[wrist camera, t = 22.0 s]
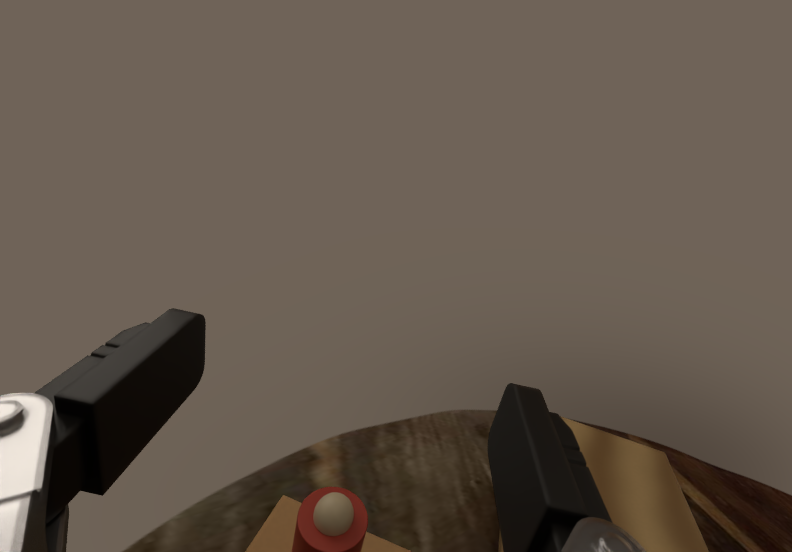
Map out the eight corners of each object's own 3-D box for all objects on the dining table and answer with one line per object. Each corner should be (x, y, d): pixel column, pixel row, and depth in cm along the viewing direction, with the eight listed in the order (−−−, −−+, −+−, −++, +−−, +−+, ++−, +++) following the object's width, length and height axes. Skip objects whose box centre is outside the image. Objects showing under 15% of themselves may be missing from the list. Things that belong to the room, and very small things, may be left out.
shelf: (618, 529, 39) (665, 452, 36) (655, 679, 29) (727, 591, 25) (496, 481, 42) (527, 404, 38) (486, 603, 31) (529, 512, 27)
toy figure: (360, 566, 31) (381, 486, 28) (335, 634, 27) (356, 548, 24) (305, 541, 32) (320, 461, 29) (273, 603, 28) (285, 516, 24)
